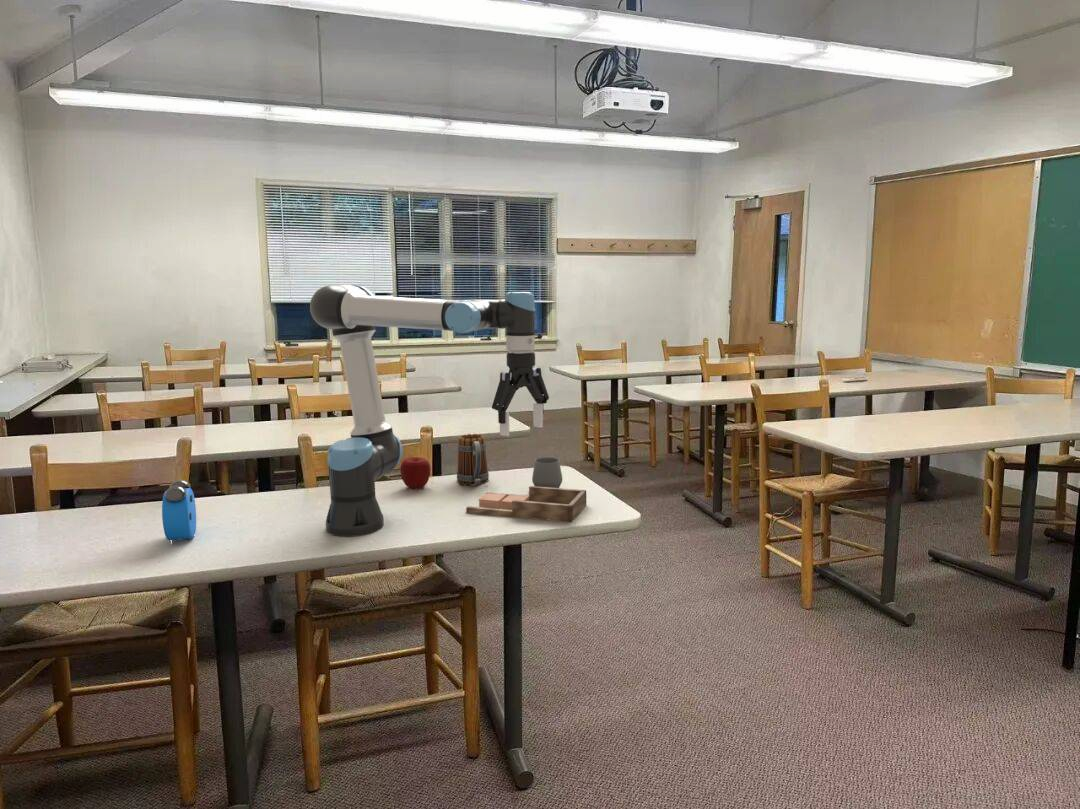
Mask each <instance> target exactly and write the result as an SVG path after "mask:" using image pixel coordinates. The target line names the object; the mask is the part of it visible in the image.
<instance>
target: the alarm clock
mask: <svg viewBox="0 0 1080 809" xmlns="http://www.w3.org/2000/svg"><path fill="white" fill-rule="evenodd" d="M161 516H162V518H161V519H162V520H161V521H162V527H163V532H164V536H165V538H166V540H167V541H168V540H169V541H168V542H171V541H170V540H176V541H181V540H180V539H184V540H190V539H189V538H192V539H194V538H195V536H194V534H195V535H196V533H195V532H197V507H196V499H195V495H194V492H193V490H192V488H191V484H190V482H188V481H186V480H184V479H178V480H175V481H173V482H172V483H171V484H170V485H169V488H168V489H167V490H165V492H164V493H163V497H162V506H161ZM193 537H194V538H193Z"/></svg>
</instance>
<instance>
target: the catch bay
mask: <svg viewBox="0 0 1080 809" xmlns="http://www.w3.org/2000/svg"><path fill="white" fill-rule="evenodd" d="M487 493H489V494H501V495H506V497H507V496H509V495H515V496H526V497H528V498H529V501H521V500H513V501H512V510H506V509H502V508H500V509H494V508H483V507H479V506H471V505H470V506H469V505H467V506H466V507H465V512H466V513H467V514H479V515H488V516H489V515H490V516H501V517H502V516H503V517H512V518H521V519H535V520H543V521H544V520H546V521H554V522H566V523H567V522H568V523H573V522H574V520H575V519H576V518H577V517H578V516H579V515H580V513H581V512H582V511H583V510H584V508H585V507H586V506H587V490H586V489H577V488H576V489H575V488H563V487H562V488H561V487H559V488H551V487H538V486H533V485H529V487H528V495H526V494H514V493H504V492H503V493H501V492H489V491H488V492H485V494H487Z"/></svg>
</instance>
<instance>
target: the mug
mask: <svg viewBox="0 0 1080 809" xmlns="http://www.w3.org/2000/svg"><path fill="white" fill-rule="evenodd" d="M486 449H487V446H486V442H485V437H484V435H482V434H480V433H479V434H477V433H473V434H471V433H469V434H462V435H459V436H458V443H457V450H458V452H457V472H456V480H457V482H458V483H459V484H461V485H464V484H465V486H466V485H467V486H475V485H477V486H478V485H482V484H486V483H487V482H488V481H489V477H490V473H489V468H488V462H487V461H488V460H487V452H486Z"/></svg>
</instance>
